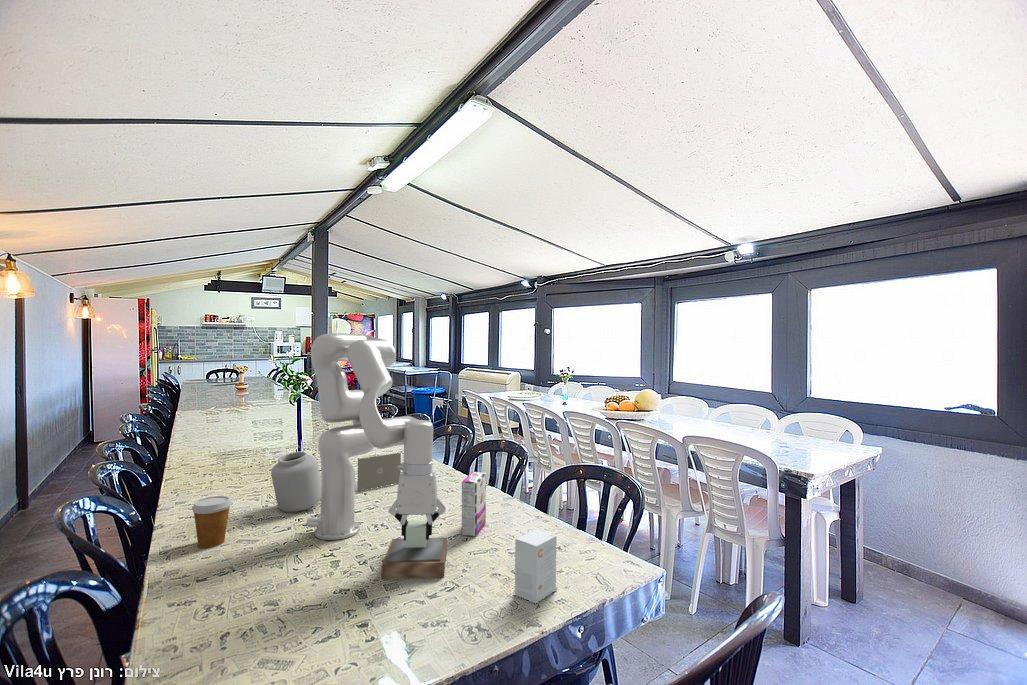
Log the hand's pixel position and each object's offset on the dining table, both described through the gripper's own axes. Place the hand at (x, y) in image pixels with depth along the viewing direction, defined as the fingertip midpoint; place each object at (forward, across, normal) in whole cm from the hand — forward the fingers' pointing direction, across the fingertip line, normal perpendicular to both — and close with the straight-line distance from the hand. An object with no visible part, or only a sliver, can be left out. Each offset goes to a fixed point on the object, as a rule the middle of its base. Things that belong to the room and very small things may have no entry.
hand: (416, 537), depth 122 cm
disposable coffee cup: (+7, -59, +16) cm, 61 cm away
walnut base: (+7, 0, 0) cm, 7 cm away
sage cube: (+2, 0, 0) cm, 2 cm away
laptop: (+8, -25, +71) cm, 75 cm away
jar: (+7, -46, +43) cm, 63 cm away
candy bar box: (+7, +15, +22) cm, 28 cm away
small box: (+7, +29, -16) cm, 34 cm away
